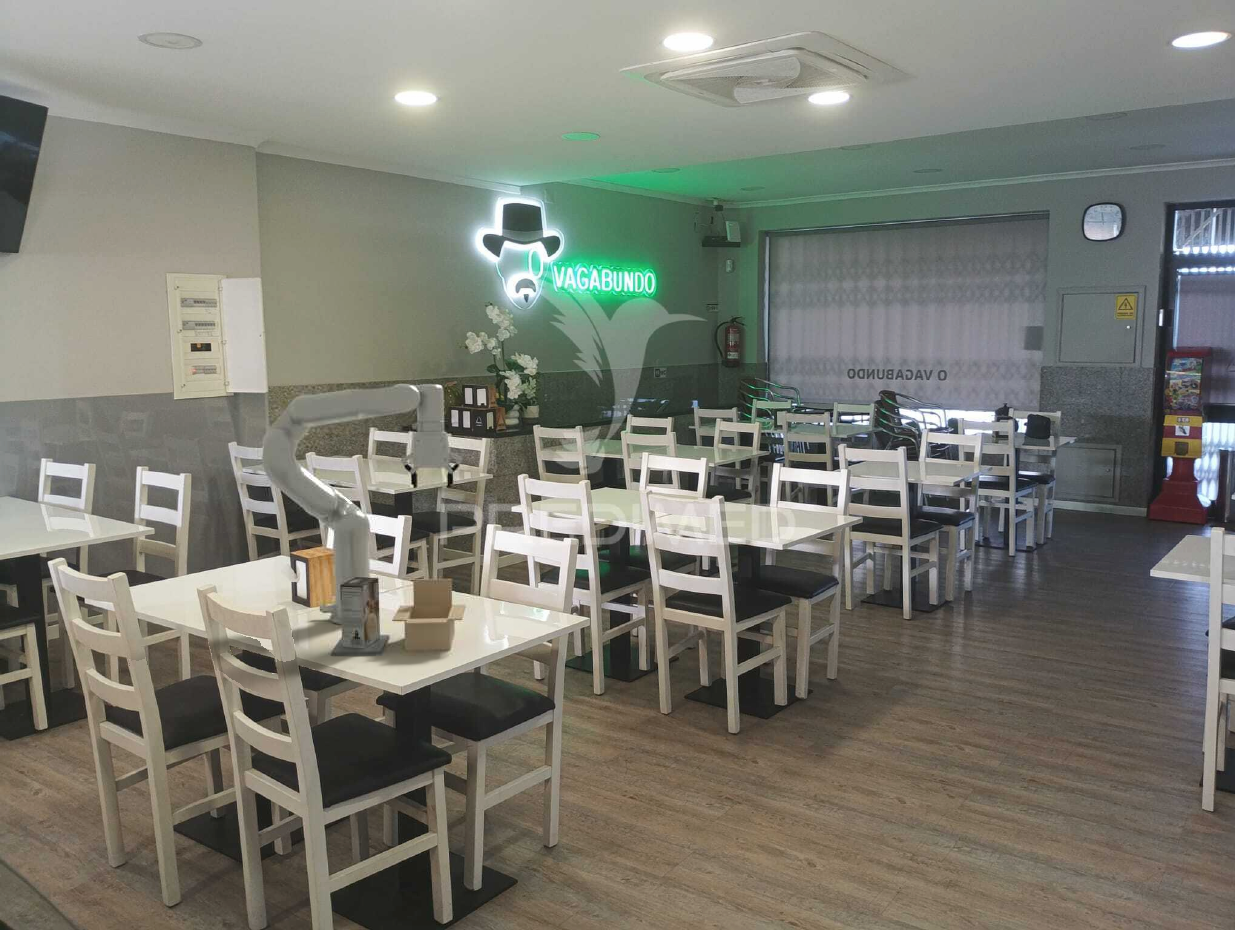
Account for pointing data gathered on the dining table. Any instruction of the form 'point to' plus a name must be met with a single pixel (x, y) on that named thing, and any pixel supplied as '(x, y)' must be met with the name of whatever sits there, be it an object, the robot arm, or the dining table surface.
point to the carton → (430, 616)
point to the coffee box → (360, 612)
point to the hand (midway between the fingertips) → (432, 487)
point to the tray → (372, 649)
